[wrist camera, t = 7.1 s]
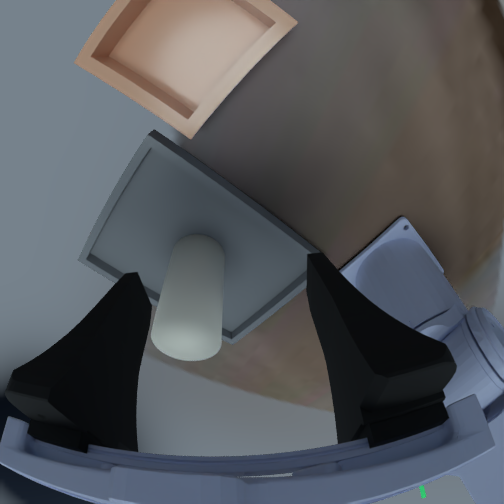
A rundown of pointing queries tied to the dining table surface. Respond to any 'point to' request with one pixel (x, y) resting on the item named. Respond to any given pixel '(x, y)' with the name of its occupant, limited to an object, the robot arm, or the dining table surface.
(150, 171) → the tray
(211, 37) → the shallow square box
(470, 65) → the dining table surface
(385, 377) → the robot arm
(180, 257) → the peg
